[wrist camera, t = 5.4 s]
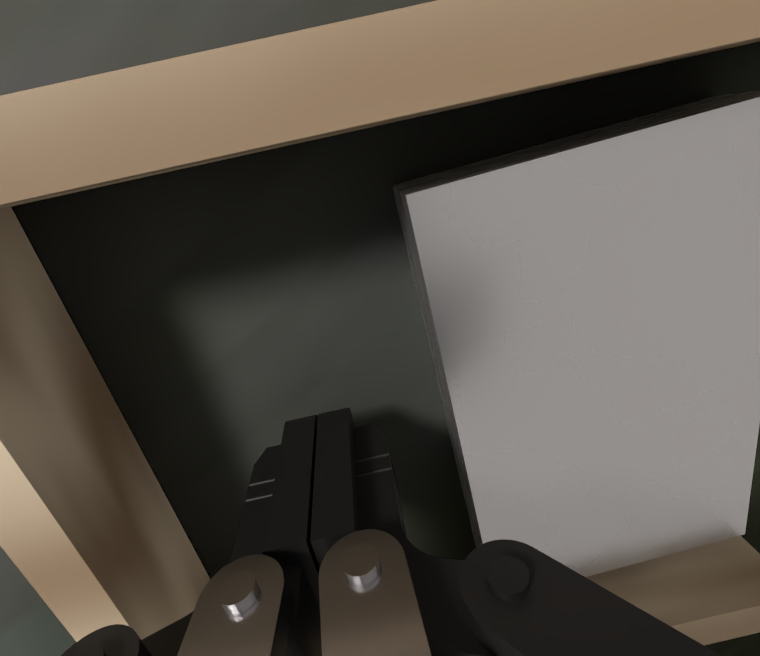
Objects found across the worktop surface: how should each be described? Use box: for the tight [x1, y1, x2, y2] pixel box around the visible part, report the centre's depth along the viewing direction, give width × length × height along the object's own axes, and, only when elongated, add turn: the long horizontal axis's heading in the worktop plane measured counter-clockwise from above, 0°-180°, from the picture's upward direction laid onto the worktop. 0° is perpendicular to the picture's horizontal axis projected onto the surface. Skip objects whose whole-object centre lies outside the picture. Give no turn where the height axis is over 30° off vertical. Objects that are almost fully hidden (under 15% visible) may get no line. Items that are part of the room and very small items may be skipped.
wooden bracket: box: [0, 0, 760, 645], centre depth 10 cm, size 15×17×3 cm
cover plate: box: [392, 90, 760, 577], centre depth 11 cm, size 11×7×2 cm, turn 14°
